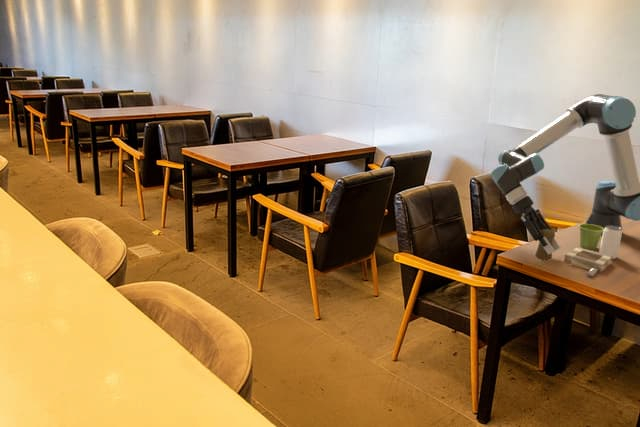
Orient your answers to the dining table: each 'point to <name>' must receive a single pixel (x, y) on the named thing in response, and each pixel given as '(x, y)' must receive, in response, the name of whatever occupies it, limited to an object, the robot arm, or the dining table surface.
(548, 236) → the olive rounded piece
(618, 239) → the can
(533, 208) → the robot arm
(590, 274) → the steel rod
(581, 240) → the plant pot
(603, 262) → the birch socket block
